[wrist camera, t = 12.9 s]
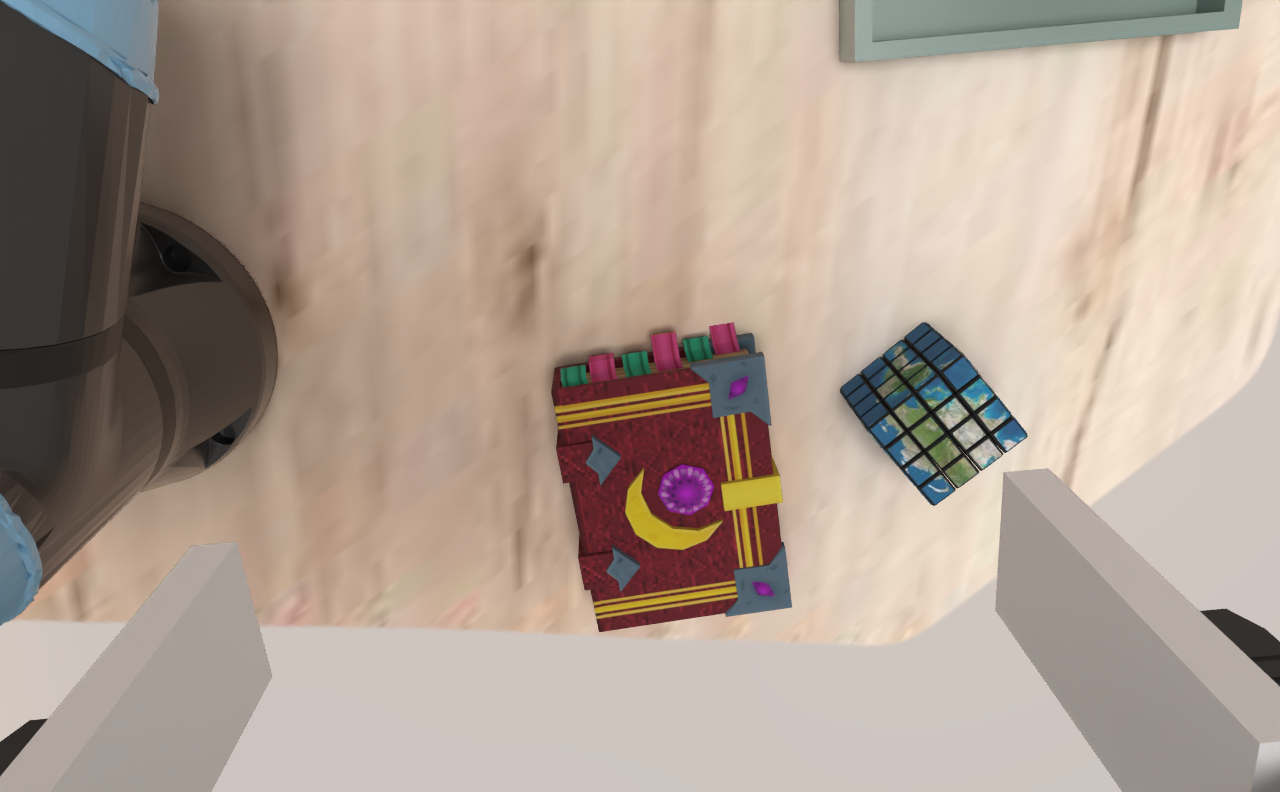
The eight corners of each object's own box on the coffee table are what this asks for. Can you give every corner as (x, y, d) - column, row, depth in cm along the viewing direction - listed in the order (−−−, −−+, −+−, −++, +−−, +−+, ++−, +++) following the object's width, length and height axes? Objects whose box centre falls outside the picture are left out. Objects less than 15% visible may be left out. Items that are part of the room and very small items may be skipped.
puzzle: (924, 320, 51) (964, 353, 46) (985, 395, 53) (1030, 437, 47) (837, 389, 52) (865, 429, 47) (899, 461, 54) (934, 508, 48)
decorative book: (595, 593, 57) (594, 642, 52) (545, 343, 51) (539, 372, 46) (779, 565, 56) (795, 612, 52) (750, 311, 51) (765, 337, 46)
